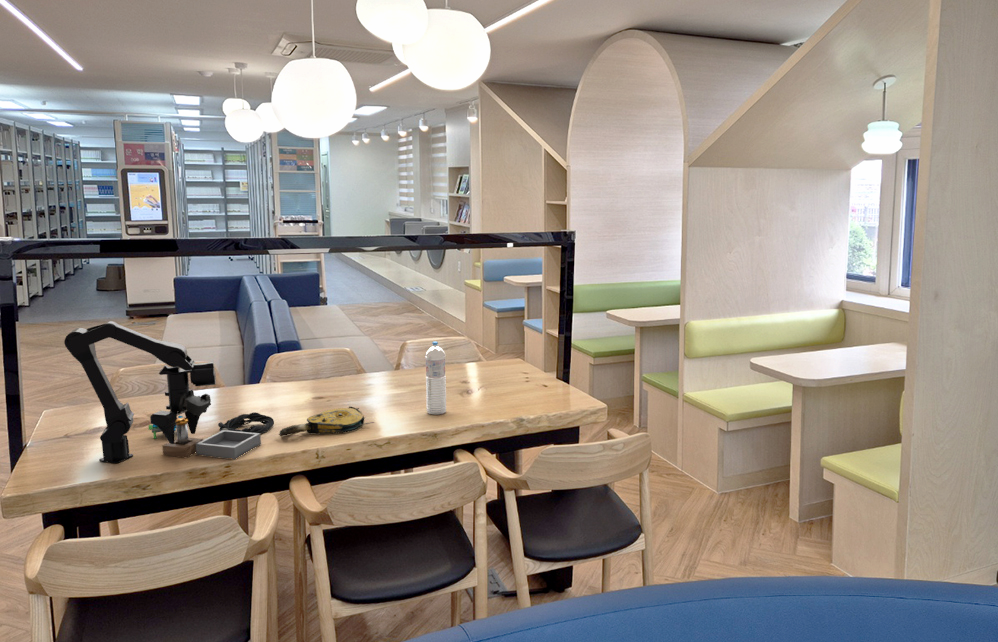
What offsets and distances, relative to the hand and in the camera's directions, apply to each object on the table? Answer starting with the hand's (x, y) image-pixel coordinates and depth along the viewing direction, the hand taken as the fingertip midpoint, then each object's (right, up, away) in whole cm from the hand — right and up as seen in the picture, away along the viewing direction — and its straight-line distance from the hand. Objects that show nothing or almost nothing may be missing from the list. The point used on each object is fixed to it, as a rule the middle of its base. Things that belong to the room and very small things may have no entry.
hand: (182, 438), depth 218 cm
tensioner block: (0, -4, +1) cm, 4 cm away
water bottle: (+72, +3, +39) cm, 81 cm away
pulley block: (+37, -1, +21) cm, 42 cm away
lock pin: (0, -4, +1) cm, 4 cm away
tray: (+13, -4, +2) cm, 14 cm away
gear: (-11, -2, +16) cm, 19 cm away
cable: (+13, -1, +20) cm, 24 cm away
